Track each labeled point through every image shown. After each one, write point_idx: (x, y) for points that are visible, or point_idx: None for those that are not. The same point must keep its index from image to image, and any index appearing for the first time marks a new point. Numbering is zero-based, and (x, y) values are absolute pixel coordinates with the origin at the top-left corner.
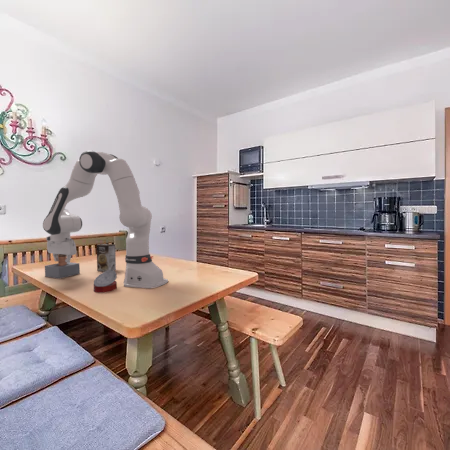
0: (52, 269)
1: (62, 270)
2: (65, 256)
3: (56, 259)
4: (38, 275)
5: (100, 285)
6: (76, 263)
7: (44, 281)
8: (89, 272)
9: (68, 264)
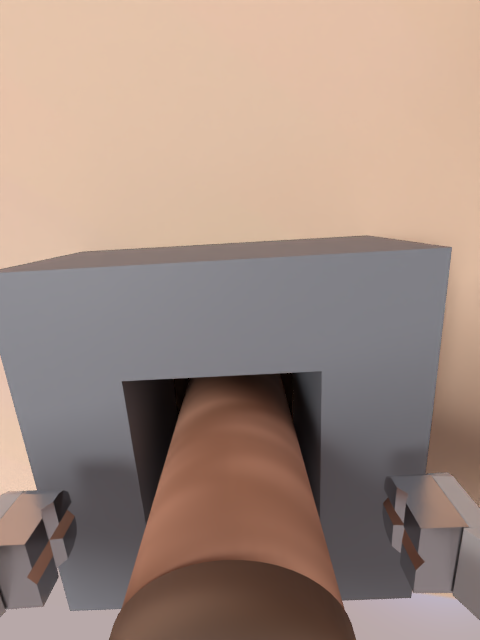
0: None
1: None
2: (346, 621)
3: (57, 574)
4: (13, 490)
5: None
6: (397, 283)
7: None
8: (448, 120)
9: (326, 410)
